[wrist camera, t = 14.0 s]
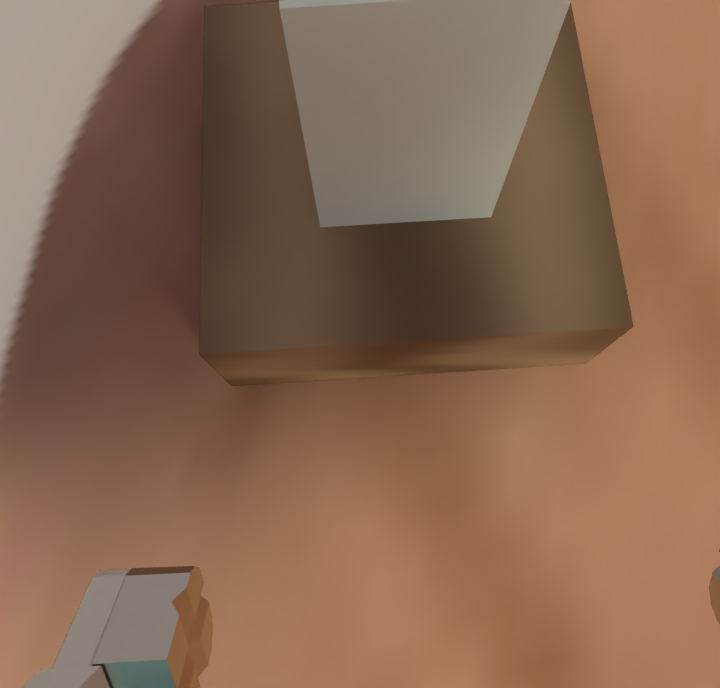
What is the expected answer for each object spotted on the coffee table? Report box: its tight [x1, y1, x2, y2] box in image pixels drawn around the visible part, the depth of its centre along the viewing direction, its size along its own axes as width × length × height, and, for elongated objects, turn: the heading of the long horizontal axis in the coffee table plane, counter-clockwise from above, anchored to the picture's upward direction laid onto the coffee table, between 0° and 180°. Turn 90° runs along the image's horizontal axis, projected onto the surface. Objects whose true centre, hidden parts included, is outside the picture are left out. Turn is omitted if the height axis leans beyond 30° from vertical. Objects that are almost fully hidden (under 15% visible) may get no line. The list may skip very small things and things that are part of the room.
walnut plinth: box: [199, 1, 633, 386], centre depth 21 cm, size 12×12×4 cm
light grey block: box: [279, 0, 571, 227], centre depth 15 cm, size 5×5×8 cm
